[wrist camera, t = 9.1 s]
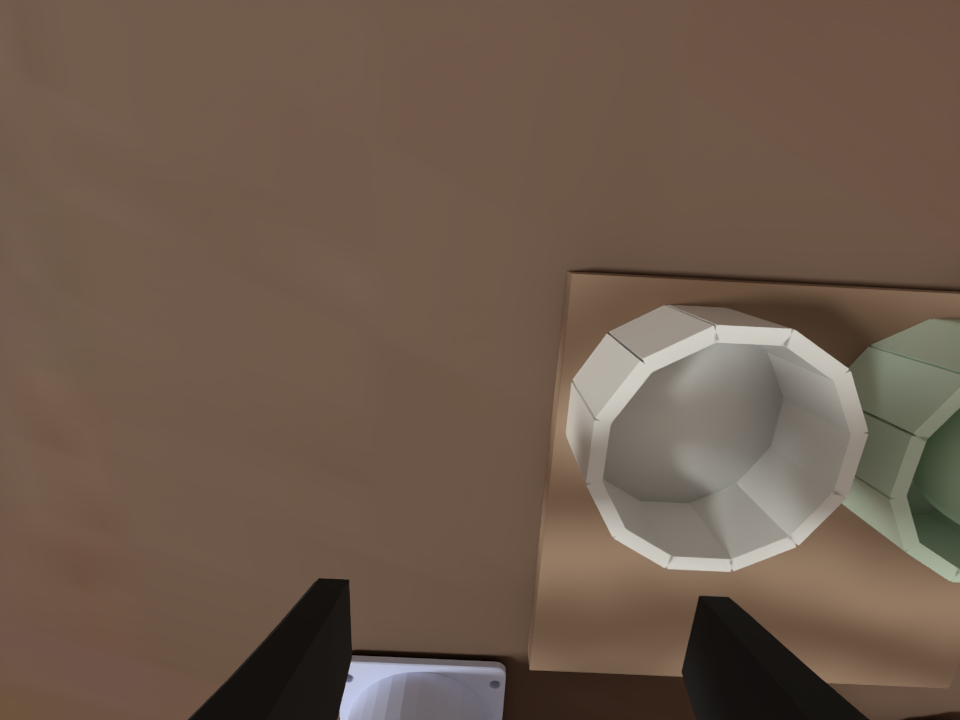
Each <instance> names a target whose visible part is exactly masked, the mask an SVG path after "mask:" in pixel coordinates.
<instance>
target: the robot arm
mask: <svg viewBox="0 0 960 720" xmlns="http://www.w3.org/2000/svg"><path fill="white" fill-rule="evenodd" d="M681 672H682V675H683V678H684V682H685V685H686V688H687V691H688V694H689V697H690V701H691V704H692V707H693V710H694V712H695V715H696V718H697V720H869V719H868V718H867V717H865V716H864V715H863V714H862V713H861V712H859V711H858V710H857V709H856V708H855V707H854V706H852V705H851V704H850V703H849V702H848V701H847V700H845V699H844V698H843V697H842V696H841V695H840V694H838V693H837V692H836V691H835V690H834V689H833V688H832V687H830V686H829V685H828V684H827V683H826V682H825V681H824V680H822V679H821V678H820V677H819V676H818V675H817V674H816V673H814V672H813V671H812V670H811V669H810V668H809V667H808V666H806V665H805V664H804V663H803V662H802V661H801V660H800V659H799V658H797V657H796V656H795V655H794V654H793V653H792V652H791V651H790V650H789V649H787V648H786V647H785V646H784V645H783V644H782V643H781V642H780V641H778V640H777V639H776V638H775V637H774V636H773V635H772V634H771V633H769V632H768V631H767V630H766V629H765V628H764V627H763V626H762V625H761V624H759V623H758V622H757V621H756V620H755V619H754V618H753V617H752V616H750V615H749V614H748V613H747V612H746V611H745V610H744V609H742V608H741V607H740V606H739V605H738V604H736V603H735V602H734V601H733V600H732V599H731V598H729V597H720V596H699V598H698V603H697V607H696V611H695V615H694V620H693V624H692V628H691V633H690V637H689V641H688V645H687V650H686V654H685V658H684V663H683V667H682V671H681ZM495 680H496V681H495ZM505 682H506V669H505V666H504V665H503V664H502V663H500V662H493V661H470V660H448V659H425V658H402V657H379V656H356V655H352V644H351V618H350V592H349V580H344V579H322V578H319V579H318V580H317V581H316V582H314V583H313V585H312V586H311V587H310V588H309V589H308V591H307V592H306V593H305V594H304V595H303V596H302V598H301V599H300V600H299V601H298V602H297V603H296V605H295V606H294V607H293V608H292V609H291V610H290V612H289V613H288V614H287V615H286V616H285V617H284V619H283V620H282V621H281V622H280V623H279V624H278V625H277V626H276V628H275V629H274V630H273V631H272V632H271V633H270V634H269V635H268V637H267V638H266V639H265V640H264V641H263V642H262V643H261V644H260V645H259V646H258V648H257V649H256V650H255V651H254V652H253V653H252V654H251V655H250V656H249V657H248V658H247V659H246V661H245V662H244V663H243V664H242V665H241V666H240V667H239V668H238V669H237V670H236V671H235V672H234V673H233V675H232V676H231V677H230V678H229V679H228V680H227V681H226V682H225V683H224V684H223V685H222V686H221V687H220V688H219V689H218V690H217V691H216V692H215V693H214V694H213V695H212V696H211V697H210V698H209V699H208V700H207V701H206V702H205V703H204V704H203V705H202V706H201V707H200V708H199V709H198V710H197V711H196V712H195V713H194V714H193V715H192V716H191V717H190V718H189V719H188V720H337V717H338V714H339V710H340V720H502V716H503V704H504V693H505Z"/></svg>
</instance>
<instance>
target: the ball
mask: <svg viewBox="0 0 960 720" xmlns="http://www.w3.org/2000/svg"><path fill="white" fill-rule="evenodd" d="M913 481H914V483H915V484H916V486H917V487H918V489H919V491H920V492H921V493H922V494H923V495H924V497H925V498H926V499H927V500H928V501H929V502H930V503H931V504H932V505H933V506H934V507H935V508H937V509H938V510H939V511H940V512H941V513H943V514H944V515H945V516H947V517H948V518H950V519H951V520H953V521H954V522H956V523H958V524H959V525H960V408H959V409H958V410H957V411H956V412H955V413H954V414H953V415H952V416H951V417H950V418H949V419H948V420H947V421H946V422H945V423H944V424H943V425H942V426H941V427H939V428H938V429H937V430H936V431H935V432H934V433H933V434H932V435H931V436H930V437H929V438H928V439H927V441H926V444H925V447H924V449H923V452H922V455H921V457H920V460H919V463H918V466H917V468H916V471H915V474H914V477H913Z"/></svg>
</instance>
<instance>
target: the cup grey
mask: <svg viewBox="0 0 960 720" xmlns="http://www.w3.org/2000/svg"><path fill="white" fill-rule="evenodd" d="M609 332H610V335H609V334H606V335H605V337H604V338H603V339H602V341H601V342H600V343H599V345H598V346H597V347H596V349H595V350H594V351H593V353H592V354H591V355H590V357H589V358H588V359H587V361H586V362H585V364H584V365H583V366H582V368H581V369H580V370H579V372H578V373H577V374H576V376H575V377H574V378H573V381H574V382H571V391H570V400H569V408H568V417H567V426H566V437H567V439H568V442H569V444H570V447H571V449H572V452H573V454H574V456H575V459H576V461H577V464H578V466H579V469H580V471H581V474H582V476H583V479H584V481H585V483H586V486H587V488H588V490H589V492H590V494H591V496H592V498H593V500H594V502H595V504H596V506H597V508H598V510H599V512H600V514H601V516H602V518H603V520H604V522H605V524H606V526H607V528H608V530H609V531H610V533H611V535H612V537H613V538H614V539H615V540H617V541H619V542H620V543H622V544H624V545H626V546H627V547H629V548H631V549H632V550H634V551H636V552H638V553H639V554H641V555H643V556H644V557H646V558H648V559H650V560H651V561H653V562H655V563H656V564H658V565H660V566H662V567H663V568H665V567H666V568H667V569H677V570H699V571H721V572H731V569H732V570H733V571H736V570H739V569H741V568H744V567H746V566H749V565H752V564H754V563H757V562H759V561H762V560H764V559H767V558H770V557H772V556H775V555H777V554H780V553H783V552H785V551H788V550H790V549H793V548H796V545H795V544H797V545H800V544H801V543H802V542H803V541H804V540H805V539H806V538H807V537H808V536H809V535H810V534H811V533H812V532H813V531H814V530H815V529H816V528H817V527H818V526H819V525H820V524H821V523H822V522H823V521H824V520H825V519H826V518H827V517H828V516H829V515H830V514H831V513H832V512H833V511H834V510H835V509H836V508H837V507H838V506H839V505H840V504H841V503H842V502H843V501H844V500H845V499H846V497H845V496H843V495H846V496H848V495H849V492H850V489H851V486H852V483H853V480H854V477H855V474H856V471H857V467H858V464H859V461H860V458H861V455H862V452H863V449H864V446H865V443H866V440H867V437H868V434H867V433H865V432H868V428H867V425H866V421H865V418H864V415H863V411H862V408H861V404H860V401H859V398H858V394H857V391H856V387H855V384H854V380H853V377H852V374H851V371H849V369H848V368H847V367H846V366H844V365H843V364H842V363H840V362H839V361H837V360H836V359H835V358H833V357H832V356H831V355H829V354H828V353H826V352H825V351H824V350H822V349H821V348H820V347H818V346H817V345H815V344H814V343H813V342H811V341H810V340H809V339H807V338H806V337H804V336H803V335H802V334H800V333H799V332H798V331H796V330H794V329H791V328H788V327H785V326H782V325H779V324H776V323H772V322H769V321H766V320H763V319H760V318H757V317H754V316H751V315H747V314H744V313H741V312H738V311H735V310H732V309H729V308H723V307H703V306H684V305H667V306H665V305H664V306H662V307H659V308H657V309H655V310H653V311H651V312H649V313H647V314H645V315H643V316H641V317H639V318H636V319H634V320H632V321H630V322H628V323H626V324H624V325H622V326H620V327H618V328H616V329H613V330H611V331H609Z"/></svg>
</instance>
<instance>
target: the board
mask: <svg viewBox="0 0 960 720" xmlns="http://www.w3.org/2000/svg"><path fill="white" fill-rule="evenodd" d="M664 305H665V306H667V305H684V306H703V307H723V308H729V309H732V310H735V311H738V312H741V313H744V314H747V315H751V316H754V317H757V318H760V319H763V320H766V321H769V322H772V323H776V324H779V325H782V326H785V327H788V328H791V329H794V330H796V331H798V332H799V333H800V334H802V335H803V336H804V337H806V338H807V339H809V340H810V341H811V342H813V343H814V344H815V345H817V346H818V347H820V348H821V349H822V350H824V351H825V352H826V353H828V354H829V355H831V356H832V357H833V358H835V359H836V360H837V361H839V362H840V363H842V364H843V365H844V366H846V367H847V368H849V367H850V366H851V365H852V364H853V363H854V362H855V361H856V359H857V358H858V357H859V356H860V355H861V354H862V353H863V352H864V351H865V350H866V349H867V348H868V347H871V345H872V344H874V343H876V342H879V341H881V340H883V339H885V338H888V337H890V336H892V335H895V334H897V333H899V332H901V331H904V330H906V329H908V328H911V327H913V326H915V325H917V324H920V323H922V322H924V321H927V320H929V319H933V318H935V319H954V320H960V292H955V291H936V290H917V289H898V288H879V287H860V286H841V285H822V284H803V283H784V282H765V281H746V280H727V279H707V278H688V277H669V276H650V275H631V274H612V273H593V272H574V271H567V277H566V287H565V296H564V306H563V316H562V325H561V335H560V344H559V354H558V363H557V373H556V383H555V392H554V402H553V411H552V421H551V431H550V440H549V450H548V459H547V469H546V478H545V488H544V498H543V507H542V517H541V526H540V536H539V545H538V555H537V565H536V574H535V584H534V593H533V603H532V612H531V622H530V632H529V641H528V659H529V668H530V670H541V671H564V672H587V673H610V674H633V675H656V676H679V677H683V675H682V672H681V671H682V667H683V663H684V658H685V654H686V650H687V645H688V641H689V637H690V633H691V628H692V624H693V620H694V615H695V611H696V607H697V603H698V598H699V596H720V597H729V598H731V599H732V600H733V601H734V602H735V603H736V604H738V605H739V606H740V607H741V608H742V609H744V610H745V611H746V612H747V613H748V614H749V615H750V616H752V617H753V618H754V619H755V620H756V621H757V622H758V623H759V624H761V625H762V626H763V627H764V628H765V629H766V630H767V631H768V632H769V633H771V634H772V635H773V636H774V637H775V638H776V639H777V640H778V641H780V642H781V643H782V644H783V645H784V646H785V647H786V648H787V649H789V650H790V651H791V652H792V653H793V654H794V655H795V656H796V657H797V658H799V659H800V660H801V661H802V662H803V663H804V664H805V665H806V666H808V667H809V668H810V669H811V670H812V671H813V672H814V673H816V674H817V675H818V676H819V677H820V678H821V679H822V680H824V681H825V682H826V683H840V684H863V685H886V686H909V687H932V688H949V686H950V684H951V682H952V680H953V677H954V675H955V673H956V671H957V669H958V667H959V664H960V582H951V581H948V580H947V579H945V578H944V577H942V576H941V575H939V574H938V573H936V572H935V571H933V570H932V569H930V568H929V567H927V566H926V565H924V564H923V563H921V562H920V561H918V560H917V559H915V558H914V557H912V556H910V555H909V554H907V553H906V552H905V551H903V550H902V549H901V548H899V547H898V546H897V545H895V544H894V543H893V542H891V541H890V540H889V539H887V538H886V537H885V536H884V535H882V534H881V533H880V532H878V531H877V530H876V529H874V528H873V527H872V526H870V525H869V524H868V523H866V522H865V521H864V520H863V519H861V518H860V517H859V516H857V515H856V514H855V513H853V512H852V511H851V510H849V509H848V508H847V507H845V506H844V505H843V504H842V503H841V504H840V505H839V506H838V507H837V508H836V509H835V510H834V511H833V512H832V513H831V514H830V515H829V516H828V517H827V518H826V519H825V520H824V521H823V522H822V523H821V524H820V525H819V526H818V527H817V528H816V529H815V530H814V531H813V532H812V533H811V534H810V535H809V536H808V537H807V538H806V539H805V540H804V541H803V542H802V543H801V544H800V545H797V544H795V545H796V548H793V549H790V550H788V551H785V552H783V553H780V554H777V555H775V556H772V557H770V558H767V559H764V560H762V561H759V562H757V563H754V564H752V565H749V566H746V567H744V568H741V569H739V570H736V571H733V570H732V569H731V572H721V571H699V570H677V569H667V568H666V567H665V568H663V567H662V566H660V565H658V564H656V563H655V562H653V561H651V560H650V559H648V558H646V557H644V556H643V555H641V554H639V553H638V552H636V551H634V550H632V549H631V548H629V547H627V546H626V545H624V544H622V543H620V542H619V541H617V540H615V539H614V538H613V537H612V535H611V533H610V531H609V530H608V528H607V526H606V524H605V522H604V520H603V518H602V516H601V514H600V512H599V510H598V508H597V506H596V504H595V502H594V500H593V498H592V496H591V494H590V492H589V490H588V488H587V486H586V483H585V481H584V479H583V476H582V474H581V471H580V469H579V466H578V464H577V461H576V459H575V456H574V454H573V452H572V449H571V447H570V444H569V442H568V439H567V437H566V426H567V417H568V408H569V400H570V391H571V382H574V381H573V378H574V377H575V376H576V374H577V373H578V372H579V370H580V369H581V368H582V366H583V365H584V364H585V362H586V361H587V359H588V358H589V357H590V355H591V354H592V353H593V351H594V350H595V349H596V347H597V346H598V345H599V343H600V342H601V341H602V339H603V338H604V337H605V335H606V334H609V335H610V332H609V331H611V330H613V329H616V328H618V327H620V326H622V325H624V324H626V323H628V322H630V321H632V320H634V319H636V318H639V317H641V316H643V315H645V314H647V313H649V312H651V311H653V310H655V309H657V308H659V307H662V306H664Z"/></svg>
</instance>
